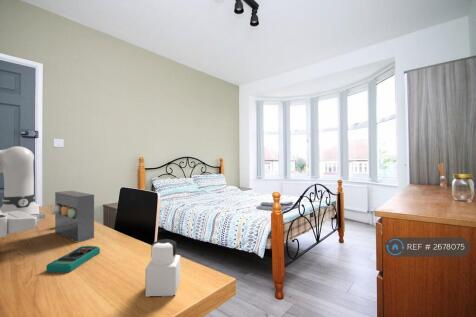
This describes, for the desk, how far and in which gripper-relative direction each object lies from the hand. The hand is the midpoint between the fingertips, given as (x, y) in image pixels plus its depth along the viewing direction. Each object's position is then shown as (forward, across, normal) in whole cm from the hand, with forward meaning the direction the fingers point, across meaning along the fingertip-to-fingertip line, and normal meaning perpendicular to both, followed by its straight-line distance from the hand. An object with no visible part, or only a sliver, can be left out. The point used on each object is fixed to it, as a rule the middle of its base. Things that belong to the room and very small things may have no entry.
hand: (43, 215), depth 91 cm
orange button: (+8, 0, -1) cm, 8 cm away
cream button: (+6, -7, -1) cm, 10 cm away
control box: (+11, 0, -11) cm, 15 cm away
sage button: (+8, +6, -1) cm, 10 cm away
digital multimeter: (-1, +29, -11) cm, 31 cm away
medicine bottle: (+4, +66, -11) cm, 67 cm away
